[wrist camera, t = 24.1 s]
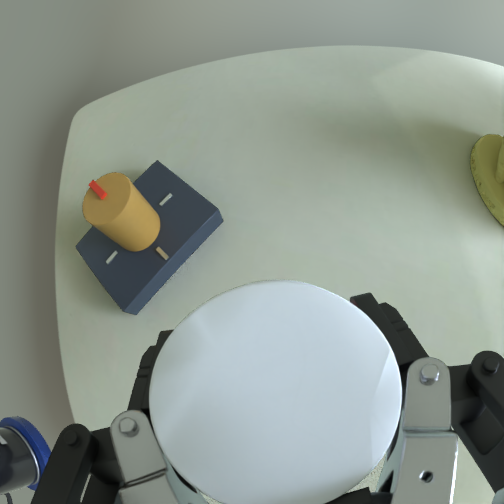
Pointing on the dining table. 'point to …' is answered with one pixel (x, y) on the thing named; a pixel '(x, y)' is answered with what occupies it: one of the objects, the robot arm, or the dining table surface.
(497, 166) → the figurine
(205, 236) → the dial base block
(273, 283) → the pill bottle
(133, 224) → the tan cylinder
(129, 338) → the dining table surface
